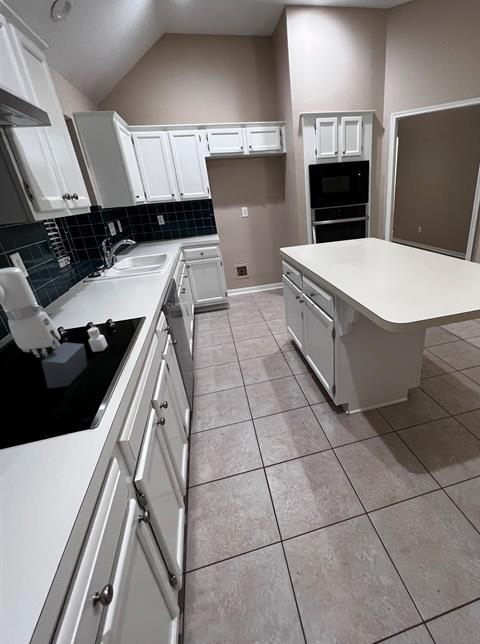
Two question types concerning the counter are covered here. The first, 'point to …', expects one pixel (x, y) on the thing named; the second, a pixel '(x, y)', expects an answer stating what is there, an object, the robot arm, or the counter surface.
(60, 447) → the counter surface
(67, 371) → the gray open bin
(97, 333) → the pepper shaker
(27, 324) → the robot arm
